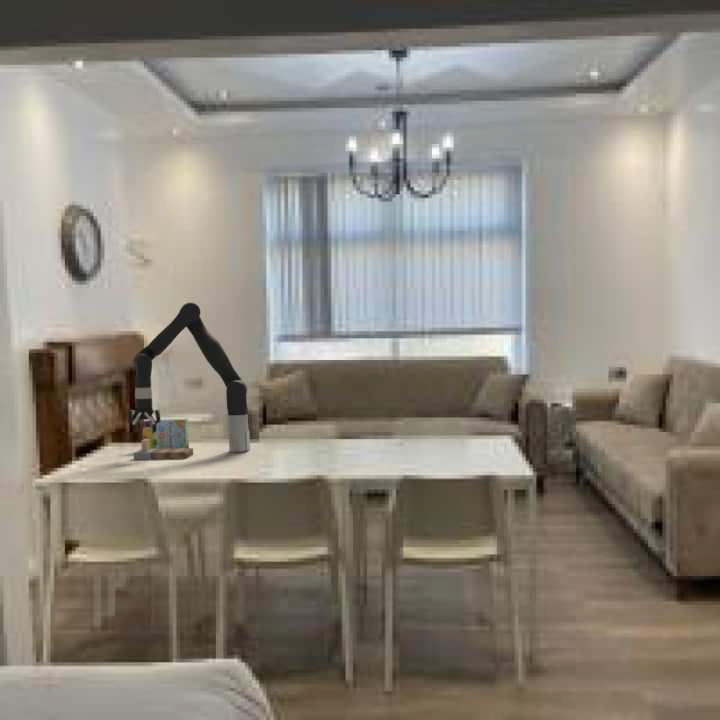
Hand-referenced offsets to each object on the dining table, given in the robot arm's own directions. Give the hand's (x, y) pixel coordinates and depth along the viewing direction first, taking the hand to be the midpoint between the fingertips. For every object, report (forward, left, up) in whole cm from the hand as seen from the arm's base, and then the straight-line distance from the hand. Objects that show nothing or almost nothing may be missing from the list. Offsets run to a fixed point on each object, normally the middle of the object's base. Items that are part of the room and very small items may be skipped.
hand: (144, 432), depth 421 cm
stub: (0, 0, -12) cm, 12 cm away
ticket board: (-13, 0, -12) cm, 17 cm away
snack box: (-4, -22, -12) cm, 25 cm away
